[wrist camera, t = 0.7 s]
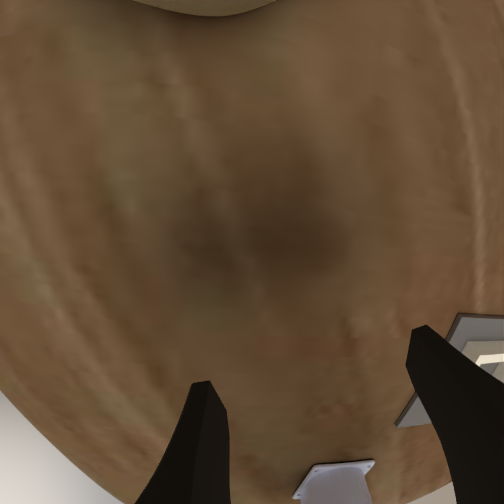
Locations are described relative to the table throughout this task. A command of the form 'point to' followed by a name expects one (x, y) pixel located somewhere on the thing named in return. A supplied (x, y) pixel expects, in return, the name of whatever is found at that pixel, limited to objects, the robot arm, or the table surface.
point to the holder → (473, 347)
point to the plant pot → (207, 6)
